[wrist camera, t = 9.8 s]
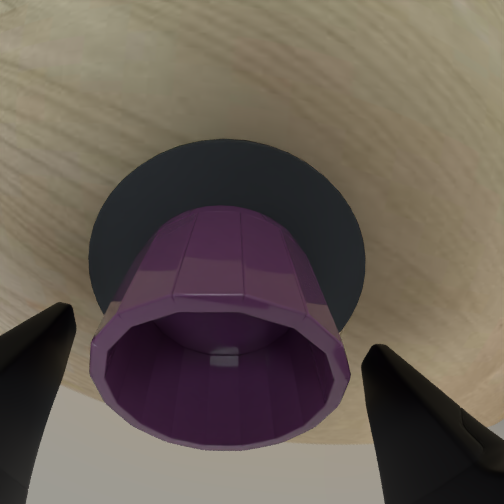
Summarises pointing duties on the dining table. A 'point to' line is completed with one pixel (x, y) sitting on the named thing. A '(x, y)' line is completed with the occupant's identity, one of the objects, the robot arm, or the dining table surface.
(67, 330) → the robot arm
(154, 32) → the dining table surface
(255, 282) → the purple cup
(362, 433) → the dining table surface
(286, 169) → the coaster
